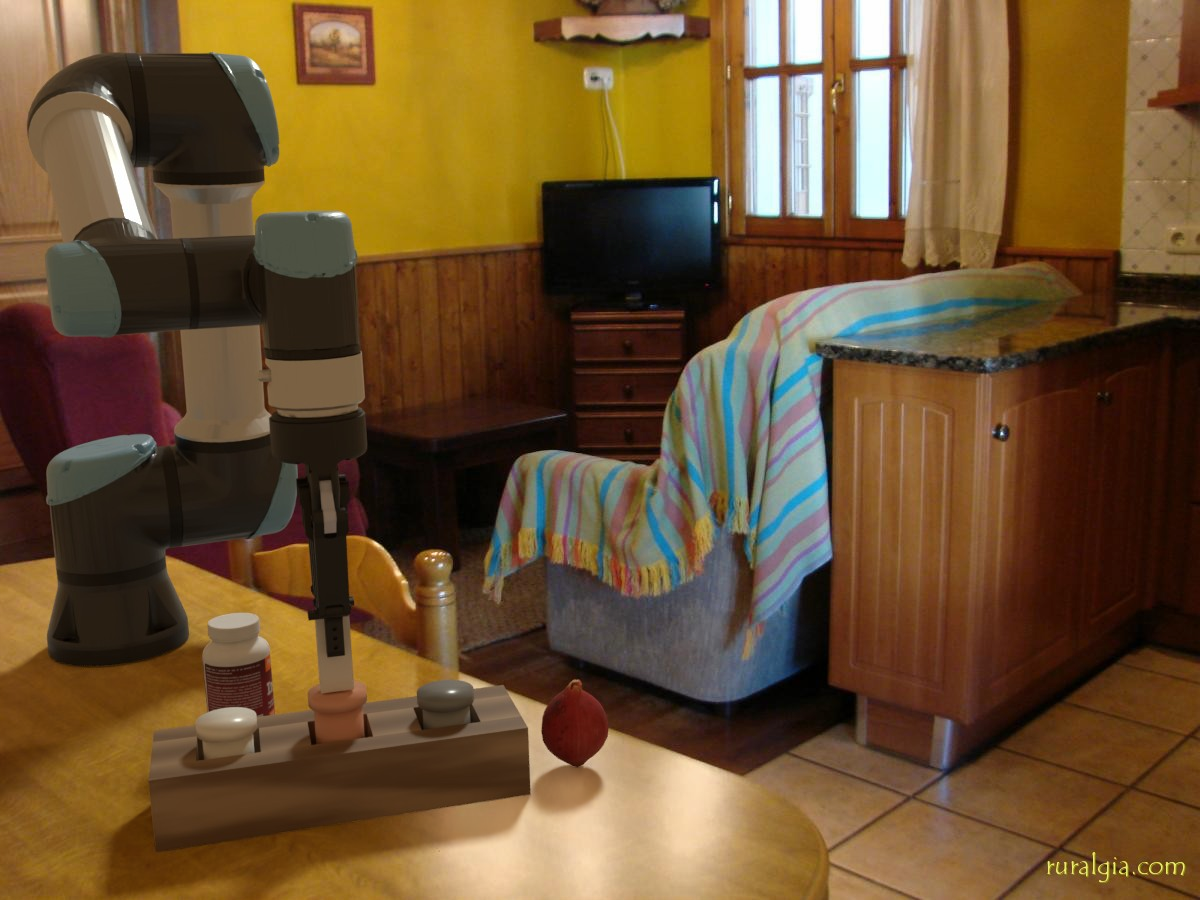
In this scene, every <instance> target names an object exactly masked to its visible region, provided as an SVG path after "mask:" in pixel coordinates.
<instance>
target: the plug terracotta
mask: <svg viewBox="0 0 1200 900" xmlns="http://www.w3.org/2000/svg"><path fill="white" fill-rule="evenodd" d="M367 694H368V693H367V686H366V684H365V683H363V682H361V681H360V680H359V681H358V680H354V689H353V690H345V691H337V692H329V693H321V690H320V683H318V684H316V685H314V686H312V687H311V688H310V689H308V691H307V704H308V707H309V710H313V711H314V720H315V733H316V744H323V743H330V742H338V741H345V740H352V739H359V738H365V734H364V719H363V705H364V704H365V703H367V701H368V695H367Z"/></svg>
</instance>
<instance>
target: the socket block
mask: <svg viewBox="0 0 1200 900" xmlns="http://www.w3.org/2000/svg"><path fill="white" fill-rule="evenodd" d="M473 689H474V702H473V703H472V704H471V705H470V723H469V724H461V725H454V726H447V727H440V728H432V729H425V730H424V727H423V709H421V708H420V707H419V706H418V704H417V695H415V696H407V697H400V698H399V697H398V698H392V699H386V700H385V699H383V700H377V701H369V702H366V703H365V704H364V705H363V719H364V734H365V738H359V739H352V740H345V741H338V742H330V743H323V744H316V733H315V720H314V711H313V710H312V709H308V710H300V711H294V712H292V711H291V712H284V713H278V714H276V713H275V715H268V716H261V717H257V729H256V731H255V732H254V733H253V740H254V751H255V753H250V754H243V755H236V756H228V757H221V758H214V759H207V760H204V753H203V742H202V740H200V739H199V738H198V737H197V734H196V724H192V725H187V726H185V725H184V726H177V727H172V728H171V727H170V728H162V729H154V730H153V736H152V737H153V738H152V745H151V754H150V762H149V763H150V764H149V772H148V779H147V780H148V781H147V782H148V790H149V791H148V792H149V799H150V800H149V801H150V809H151V817H152V818H151V820H152V827H153V829H152V830H153V840H154V848H155V853H158V852H164V851H165V852H166V851H172V850H179V849H185V848H191V847H197V846H198V847H199V846H204V845H210V844H218V843H225V842H231V841H237V840H243V839H249V838H258V837H263V836H271V835H276V834H282V833H288V832H296V831H302V830H303V831H304V830H309V829H314V828H321V827H328V826H334V825H341V824H347V823H354V822H361V821H367V820H373V819H380V818H385V817H387V818H388V817H394V816H399V815H405V814H411V813H419V812H426V811H431V810H437V809H438V810H439V809H446V808H452V807H458V806H459V807H460V806H466V805H470V804H471V805H472V804H477V803H484V802H492V801H496V800H503V799H511V798H517V797H523V796H529V795H531V794H532V793H531V792H532V791H531V789H532V788H531V769H530V768H531V767H530V744H529V743H530V741H529V727H528V724H527V723H526V722H525V720H524V718H523V717H522V715H521V713H520V711H519V709H518V707H517V706H516V704H515V703H514V701H513V699H512V698H511V695H510V694H509V692H508V691H507V689H506V687H505V685H504V684H501V685H500V684H499V685H492V686H484V687H476V688H473Z"/></svg>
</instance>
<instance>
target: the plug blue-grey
mask: <svg viewBox="0 0 1200 900" xmlns="http://www.w3.org/2000/svg"><path fill="white" fill-rule="evenodd" d="M474 689H475V688H474V686H473V685H472V684H471V683H470V682H467V681H465V680H464V681H463V680H459V679H441V680H439V679H438V680H435V681H431V682H428V683H425V684H423V685H422V686H421V685H420V687H419V688H417V690H416V696H417V704H418V706H419V707H420V708H421V709H423V727H424V730H425V729H432V728H440V727H447V726H454V725H461V724H469V723H470V705H471V704H472V703H473V702H474Z"/></svg>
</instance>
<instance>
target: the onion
mask: <svg viewBox="0 0 1200 900" xmlns="http://www.w3.org/2000/svg"><path fill="white" fill-rule="evenodd" d="M609 729H610V728H609V721H608V717H607V714H606V712H605V710H604V707H603V705H602V704H601V703H600V701H599V700H598V699H596V697H594V696H593V695H592V694H590V693H589V692H587V691H585V690H584V689H583V683H582V681H581V680H580V679H572V681H570V682H569V683H568V685H567V686H566V687H565V689H563V690H562V691H560V692H559V693H557V694H556V695H554V697H553V698H552V699H551V700H550V701H549V703H548V704H547V705H546V707H545V709H544V711H543V714H542V719H541V729H540V731H541V738H542V742H543V743H544V745H545V748H546V749H547V750H548V751H549V752H550V753H551V754H552V755H553V756H555V757H556V758H557V759H558V760H560V761H562V762H564V763H566V764H568V765H569V766H572V767H575V768H580V767H582V766H584V765H585V764H586V762H587V761H588V760H590V759H591V758H592V757H594V756H596V755H597V753H598V752H599V751H600V750H601V749H602V748H603V747H604V745H605V743H606V741H607V740H608V736H609Z"/></svg>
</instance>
